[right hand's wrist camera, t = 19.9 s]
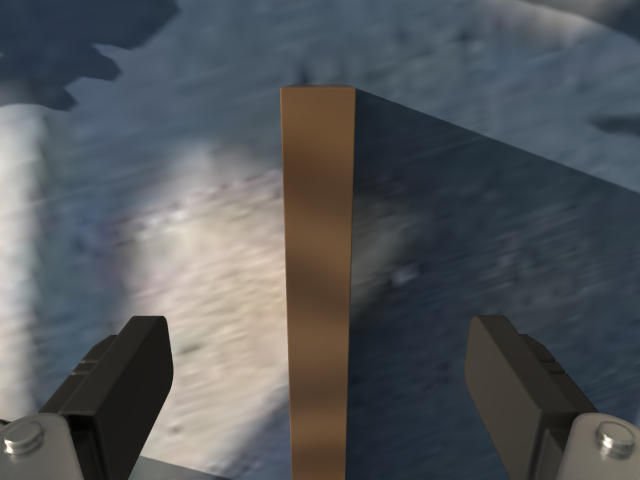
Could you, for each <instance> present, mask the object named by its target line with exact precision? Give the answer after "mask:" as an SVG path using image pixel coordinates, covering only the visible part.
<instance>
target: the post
mask: <svg viewBox="0 0 640 480" xmlns="http://www.w3.org/2000/svg"><path fill="white" fill-rule="evenodd" d="M280 95H281V129H282V163H283V196H284V230H285V264H286V298H287V332H288V365H289V399H290V433H291V467H292V480H345V469H346V432H347V396H348V360H349V324H350V288H351V252H352V215H353V179H354V143H355V107H356V88H354V87H352V86H349V85H289V86H285V87H282V88H280Z"/></svg>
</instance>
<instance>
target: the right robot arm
mask: <svg viewBox="0 0 640 480" xmlns="http://www.w3.org/2000/svg"><path fill="white" fill-rule="evenodd" d="M464 374H465V381H466V386H467V389H468V391H469V393H470V396H471V398H472V400H473V402H474V404H475V406H476V408H477V410H478V413H479V415H480V417H481V419H482V421H483V423H484V425H485V427H486V430H487V432H488V434H489V436H490V438H491V440H492V442H493V444H494V447H495V449H496V451H497V453H498V455H499V457H500V459H501V461H502V464H503V466H504V468H505V470H506V472H507V474H508V476H509V479H510V480H640V429H639V428H638V427H636V426H634V425H633V424H631V423H629V422H627V421H625V420H623V419H620V418H618V417H615V416H611V415H607V414H602V413H599V412H598V410H597V409H596V408H595V407H594V406H593V404H592V403H591V402H590V401H589V400H588V398H587V397H586V396H585V395H584V394H583V392H582V391H581V390H580V389H579V387H578V386H577V385H576V384H575V383H574V381H573V380H572V379H571V378H570V377H569V375H568V374H565V371H564V369H563V368H562V367H561V366H560V365H559V363H558V362H556V361H555V358H554V357H553V356H552V355H551V354H550V352H549V351H548V350H547V349H546V348H545V346H543V345H542V344H540V343H539V342H537V341H536V340H534V339H533V338H531V337H530V336H528V335H527V334H519V333H518V332H517V331H516V329H515V328H514V327H513V325H512V324H511V323H510V321H509V320H508V319H507V318H506V317H505V316H504V315H474V316H473V317H472V319H471V322H470V329H469V336H468V343H467V351H466V358H465V366H464ZM172 381H173V360H172V353H171V346H170V339H169V332H168V325H167V321H166V318H165V317H164V316H133V317H132V318H131V319H130V320H129V321H128V323H127V324H126V325H125V327H124V328H123V329H122V330H121V332H120V333H119V334H118V335H110V336H109V337H107V338H106V339H104V340H103V341H101V342H100V343H98V344H97V345H95V346H94V347H93V348H92V349H91V350H90V351H89V352H88V354H87V355H86V356H85V357H84V358H83V360H82V363H79V364H78V366H77V367H76V368H75V369H74V370H73V371H72V375H69V376H68V377H67V379H66V380H65V381H64V382H63V383H62V385H61V386H60V387H59V388H58V389H57V391H56V392H55V393H54V394H53V395H52V397H51V398H50V399H49V400H48V401H47V403H46V404H45V405H44V406H43V407H42V409H41V410H40V411H39V412H38V413H37V414H33V415H28V416H25V417H22V418H20V419H17V420H15V421H13V422H11V423H9V424H5V423H2V422H0V480H128V478H129V476H130V474H131V472H132V469H133V467H134V465H135V463H136V461H137V459H138V457H139V455H140V453H141V451H142V448H143V446H144V444H145V442H146V440H147V438H148V436H149V434H150V432H151V429H152V427H153V425H154V423H155V421H156V419H157V417H158V415H159V413H160V411H161V408H162V406H163V404H164V402H165V400H166V398H167V396H168V394H169V392H170V389H171V386H172Z"/></svg>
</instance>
